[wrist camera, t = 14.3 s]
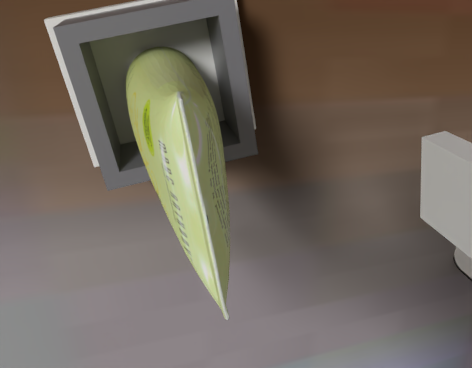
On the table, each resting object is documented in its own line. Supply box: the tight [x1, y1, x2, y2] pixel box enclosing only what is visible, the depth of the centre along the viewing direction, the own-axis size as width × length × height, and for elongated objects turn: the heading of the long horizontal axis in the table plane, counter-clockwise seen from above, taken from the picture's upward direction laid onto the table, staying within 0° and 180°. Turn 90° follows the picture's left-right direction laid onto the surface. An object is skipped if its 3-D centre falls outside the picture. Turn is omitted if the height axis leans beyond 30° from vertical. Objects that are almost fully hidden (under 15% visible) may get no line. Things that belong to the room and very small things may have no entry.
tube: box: [126, 47, 230, 320], centre depth 21 cm, size 6×5×20 cm
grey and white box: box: [44, 0, 258, 191], centre depth 28 cm, size 12×10×6 cm
